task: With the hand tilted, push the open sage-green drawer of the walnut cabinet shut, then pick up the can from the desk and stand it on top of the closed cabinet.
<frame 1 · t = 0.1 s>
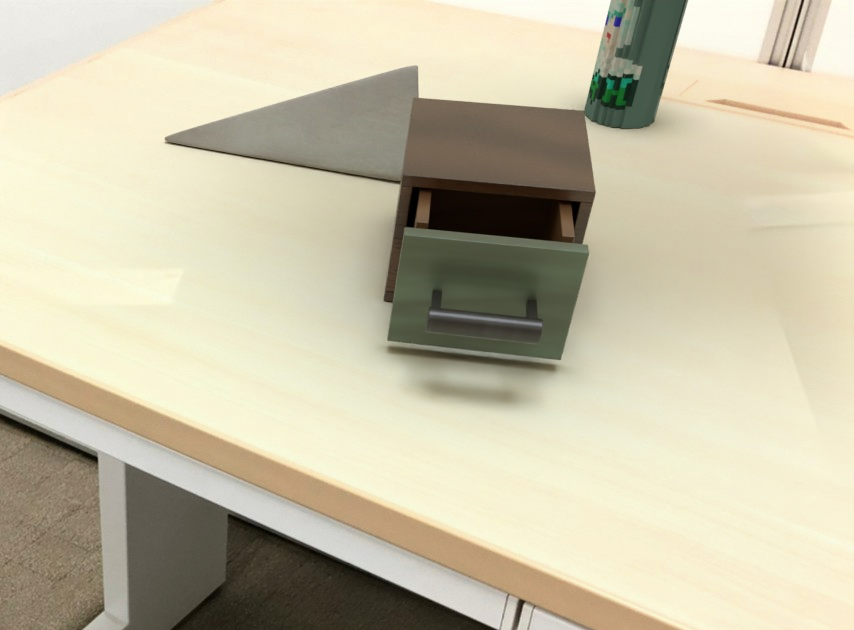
grey triangular wedge: (295, 164, 109), on the table
drawer: (484, 266, 84), point 5 cm above the table, slide at 6.0 cm
cabinet: (473, 263, 95), on the table
can: (618, 117, 117), on the table
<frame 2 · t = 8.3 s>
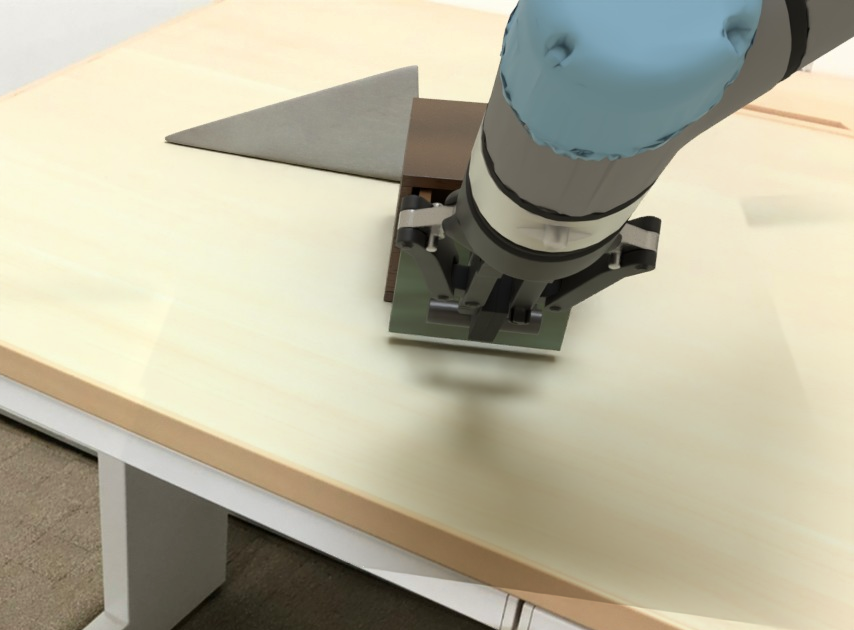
hand: (483, 319, 78), 5 cm above the table, tool tilted 45°, fingers closed
drawer: (484, 258, 85), point 5 cm above the table, slide at 4.8 cm, touching gripper
everything else where it was.
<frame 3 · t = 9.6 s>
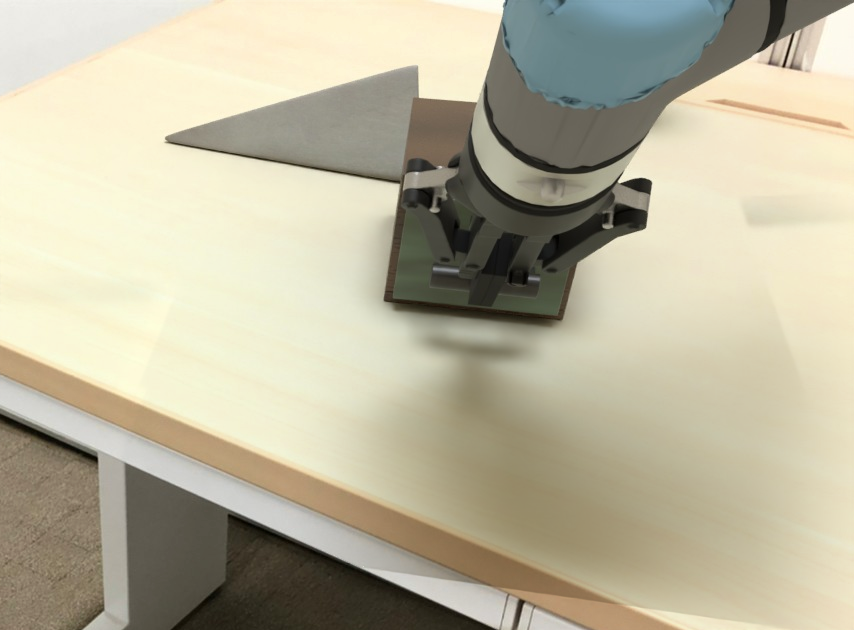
hand: (482, 285, 82), 5 cm above the table, tool tilted 45°, fingers closed
drawer: (484, 227, 89), point 5 cm above the table, slide at 0.0 cm, touching cabinet, gripper
everything else where it was.
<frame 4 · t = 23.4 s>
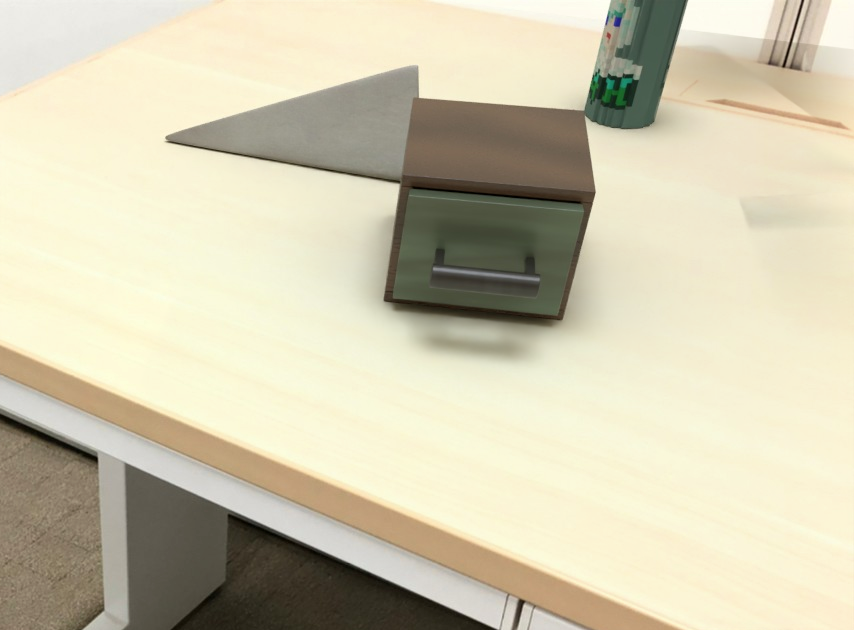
drawer: (484, 227, 89), point 5 cm above the table, slide at 0.0 cm, touching cabinet
everything else where it was.
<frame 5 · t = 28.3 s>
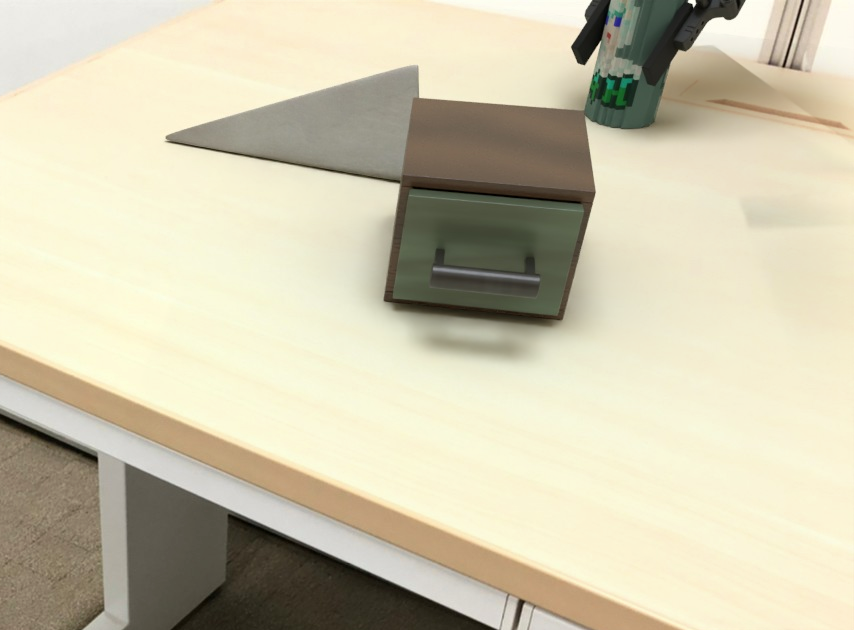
hand: (612, 66, 112), 5 cm above the table, tool tilted 45°, fingers closed on can, 6 cm apart
can: (618, 117, 117), on the table, touching gripper
everything else where it was.
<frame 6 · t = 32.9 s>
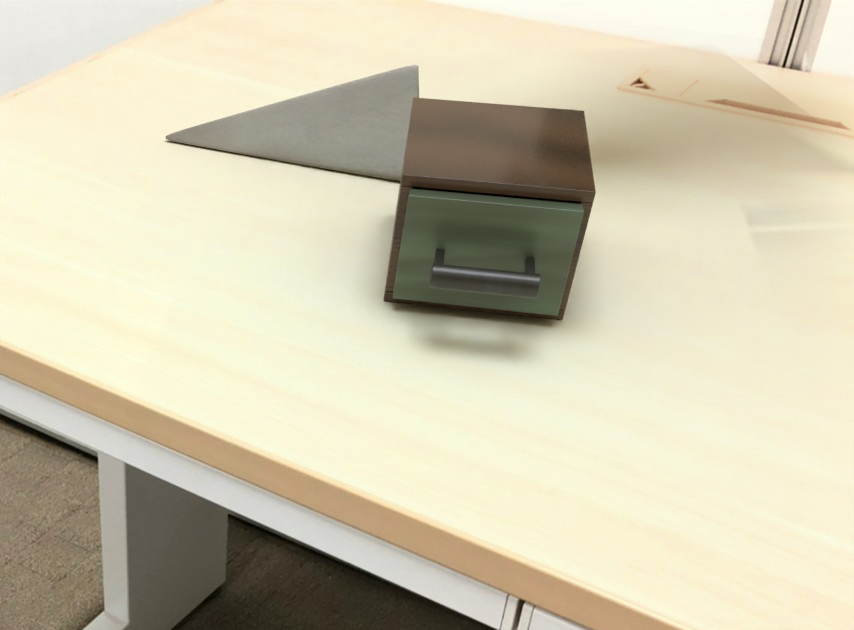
when the fingers open (15 cm above the table, at t = 37.6 s): can stays where it is, resting on cabinet.
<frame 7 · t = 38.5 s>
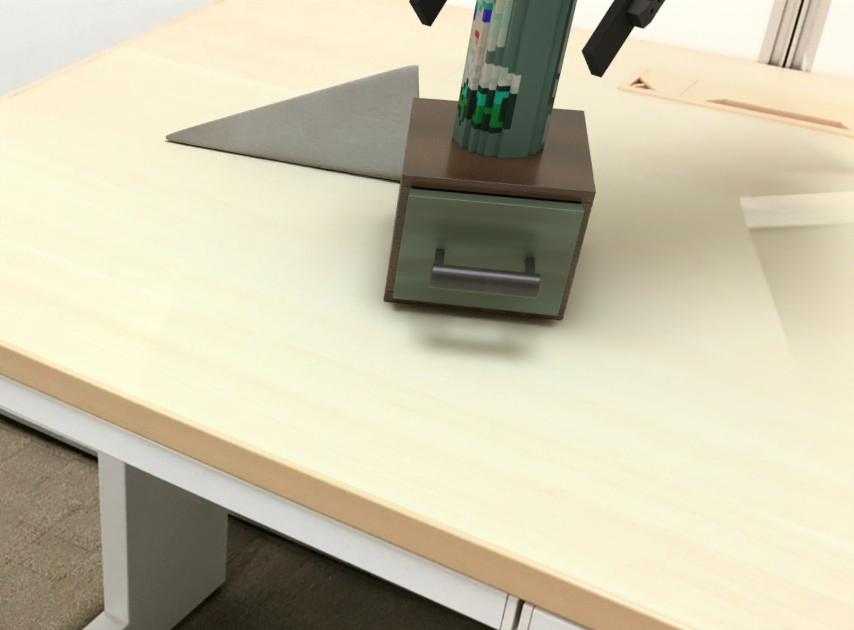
hand: (501, 38, 82), 17 cm above the table, tool tilted 45°, fingers open, 13 cm apart
can: (497, 143, 89), point 9 cm above the table, touching cabinet
everything else where it was.
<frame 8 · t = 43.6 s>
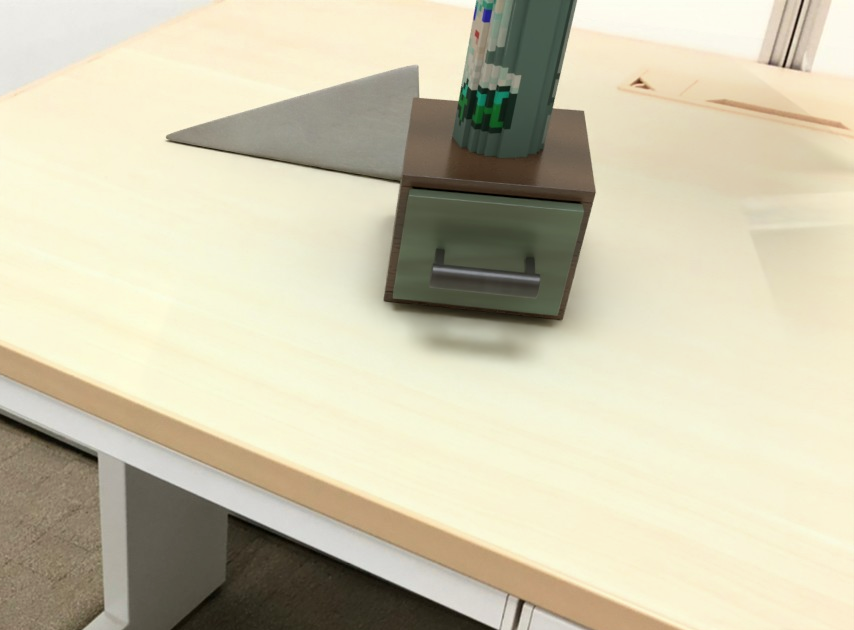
nothing on the table moved.
at the end: drawer slide at 0.0 cm; can inside the target area on the cabinet (0.1 cm from its centre), point 9.4 cm above the cabinet's base; can tilted 0° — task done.
